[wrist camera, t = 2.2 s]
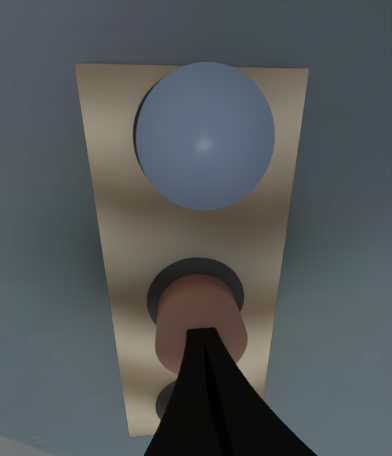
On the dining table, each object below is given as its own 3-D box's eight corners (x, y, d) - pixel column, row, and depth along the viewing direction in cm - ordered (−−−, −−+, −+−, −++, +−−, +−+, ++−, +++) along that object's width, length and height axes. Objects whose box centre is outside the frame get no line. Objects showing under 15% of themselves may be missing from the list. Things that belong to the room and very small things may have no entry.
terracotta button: (156, 275, 13) (152, 309, 11) (236, 272, 13) (251, 303, 11) (160, 339, 15) (157, 381, 12) (232, 334, 15) (244, 374, 13)
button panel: (86, 72, 11) (73, 62, 10) (293, 76, 12) (310, 68, 11) (132, 415, 20) (129, 438, 18) (253, 404, 21) (259, 425, 19)
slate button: (141, 80, 9) (129, 59, 7) (254, 82, 10) (283, 63, 7) (149, 194, 11) (141, 212, 8) (246, 192, 11) (267, 209, 9)
